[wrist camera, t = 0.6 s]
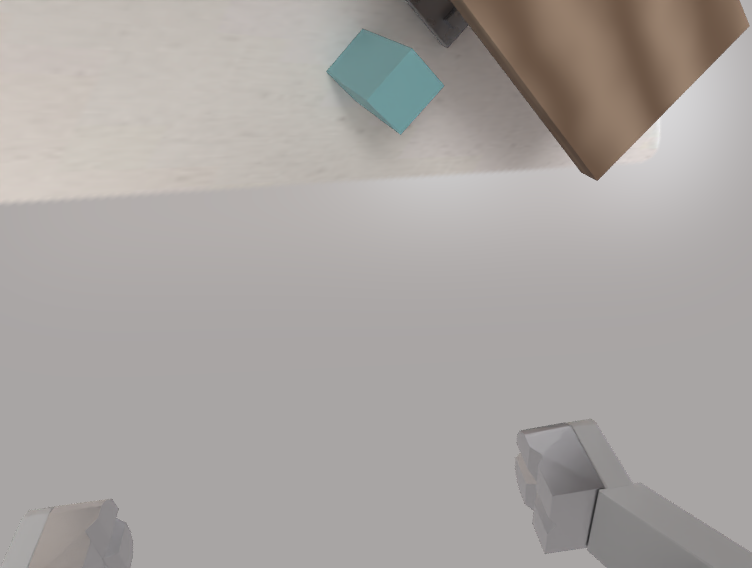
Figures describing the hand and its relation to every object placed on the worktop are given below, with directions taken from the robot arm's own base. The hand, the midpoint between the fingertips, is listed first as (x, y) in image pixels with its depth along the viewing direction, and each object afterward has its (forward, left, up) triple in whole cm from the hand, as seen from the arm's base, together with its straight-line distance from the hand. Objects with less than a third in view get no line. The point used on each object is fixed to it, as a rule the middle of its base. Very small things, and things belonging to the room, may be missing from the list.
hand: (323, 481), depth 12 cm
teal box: (-5, +15, -46) cm, 49 cm away
